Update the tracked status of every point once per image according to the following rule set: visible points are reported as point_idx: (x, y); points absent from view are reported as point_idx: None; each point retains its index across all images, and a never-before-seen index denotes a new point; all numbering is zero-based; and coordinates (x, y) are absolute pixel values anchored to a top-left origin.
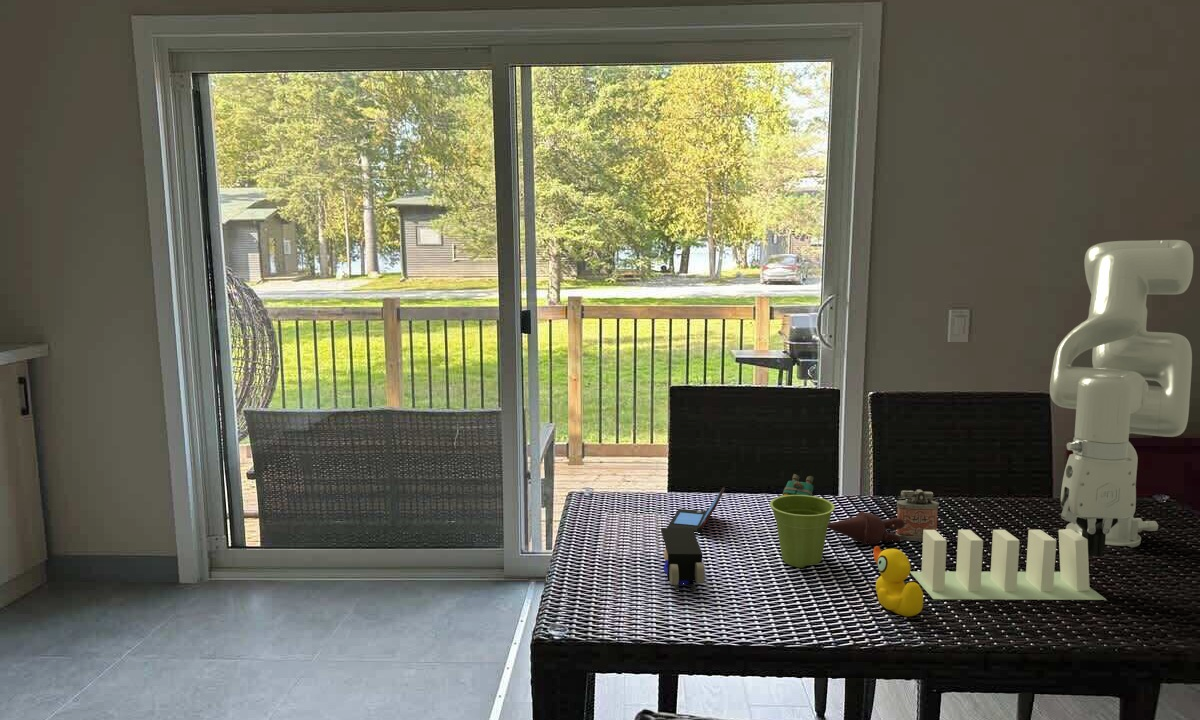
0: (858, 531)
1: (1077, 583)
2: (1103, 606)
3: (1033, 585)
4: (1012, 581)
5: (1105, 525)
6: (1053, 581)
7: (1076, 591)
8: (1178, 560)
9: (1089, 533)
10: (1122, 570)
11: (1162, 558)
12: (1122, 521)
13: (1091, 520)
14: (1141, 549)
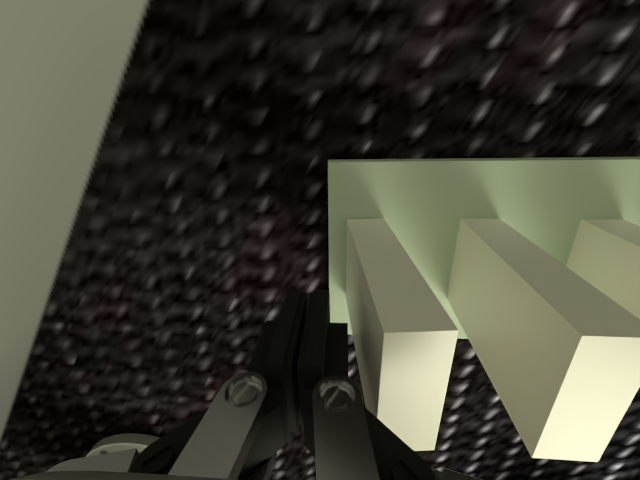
0: None
1: (388, 227)
2: (345, 144)
3: None
4: (625, 232)
5: (240, 425)
6: (473, 231)
7: (386, 217)
8: (43, 383)
9: (348, 381)
10: (182, 347)
11: (72, 392)
12: (103, 457)
13: (343, 476)
14: (100, 428)
